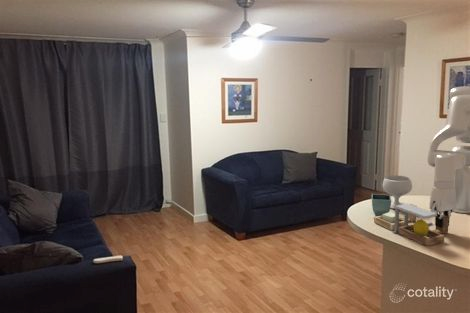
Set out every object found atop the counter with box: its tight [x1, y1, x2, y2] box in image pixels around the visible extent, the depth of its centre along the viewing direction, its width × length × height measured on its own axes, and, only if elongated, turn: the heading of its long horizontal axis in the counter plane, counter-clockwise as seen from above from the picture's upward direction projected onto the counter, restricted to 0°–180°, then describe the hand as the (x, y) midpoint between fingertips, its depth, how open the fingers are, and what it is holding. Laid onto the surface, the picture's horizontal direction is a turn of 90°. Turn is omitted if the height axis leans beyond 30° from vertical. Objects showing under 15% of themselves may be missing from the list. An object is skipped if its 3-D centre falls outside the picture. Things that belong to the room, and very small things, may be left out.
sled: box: [373, 203, 418, 231], centre depth 173 cm, size 18×11×7 cm, turn 112°
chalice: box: [382, 174, 413, 210], centre depth 195 cm, size 14×14×15 cm
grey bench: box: [392, 203, 437, 235], centre depth 159 cm, size 22×15×12 cm
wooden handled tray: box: [397, 214, 450, 247], centre depth 158 cm, size 18×15×7 cm
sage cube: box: [382, 211, 395, 224], centre depth 172 cm, size 5×5×5 cm
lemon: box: [413, 218, 430, 237], centre depth 157 cm, size 6×6×8 cm
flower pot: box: [371, 193, 392, 217], centre depth 185 cm, size 9×9×9 cm
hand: (441, 225), depth 161 cm, fingers closed on wooden handled tray, 3 cm apart
